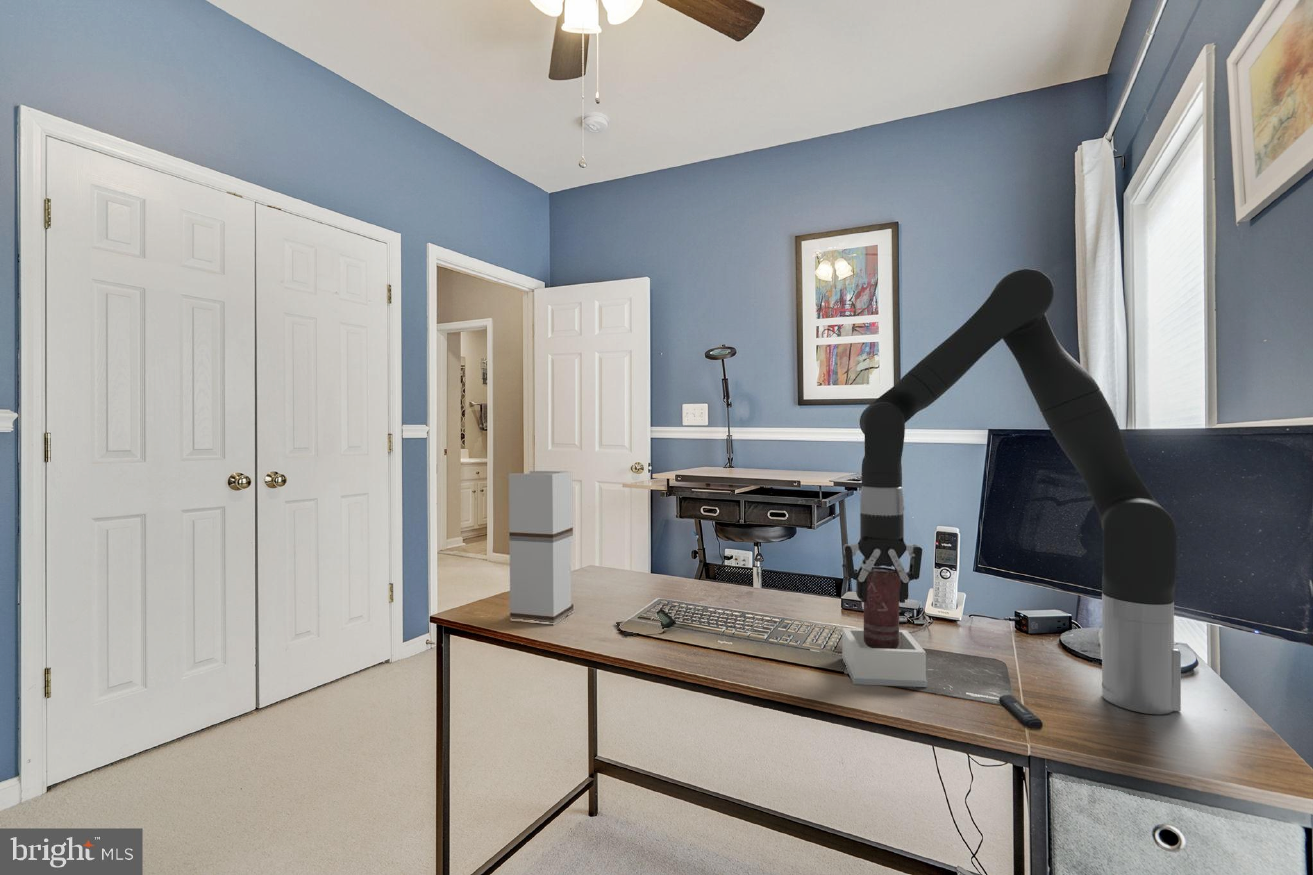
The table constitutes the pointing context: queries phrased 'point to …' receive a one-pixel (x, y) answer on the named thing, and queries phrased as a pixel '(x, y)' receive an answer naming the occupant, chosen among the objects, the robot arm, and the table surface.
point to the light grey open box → (884, 661)
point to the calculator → (665, 621)
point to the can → (882, 608)
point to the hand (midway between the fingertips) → (881, 601)
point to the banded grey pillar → (540, 545)
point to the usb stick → (1020, 711)
